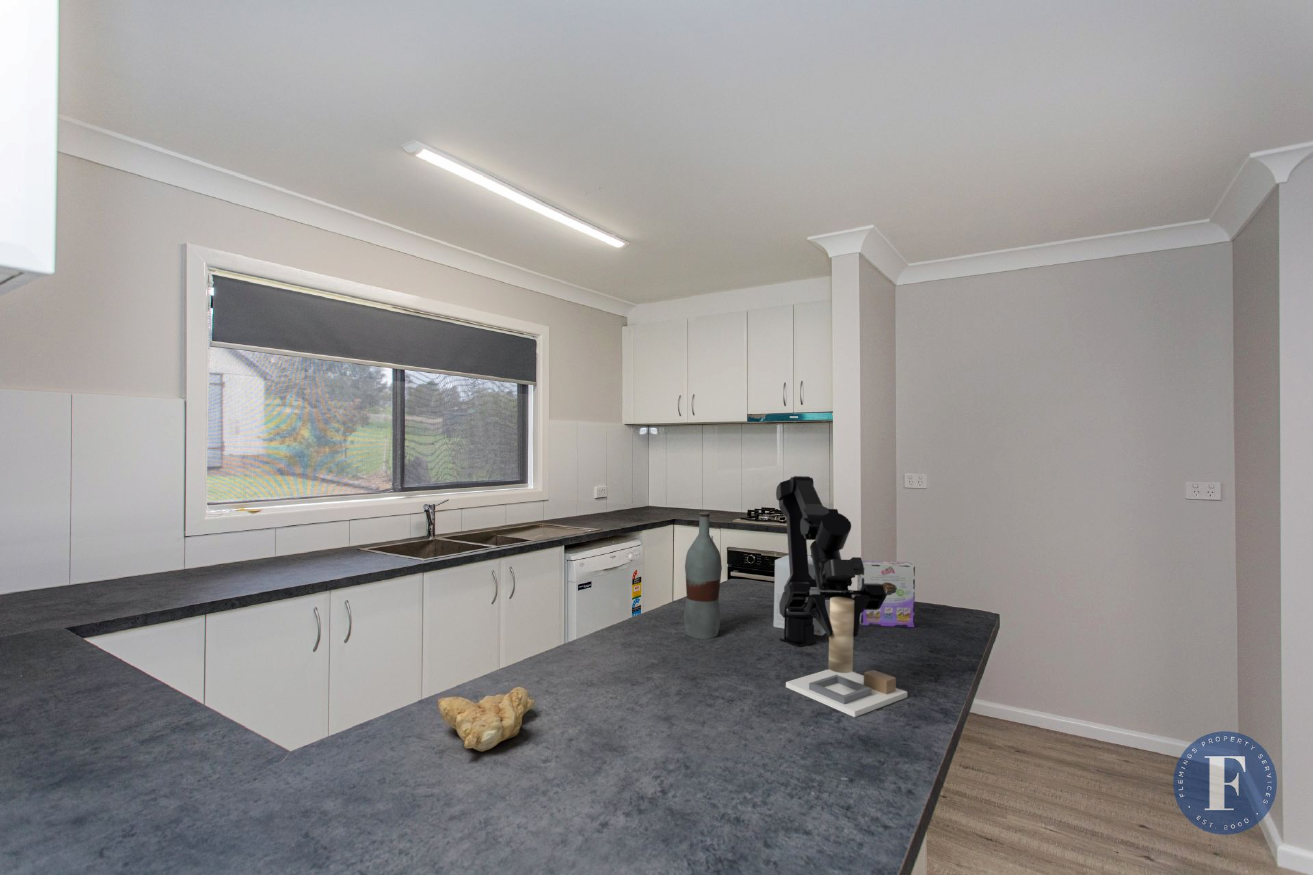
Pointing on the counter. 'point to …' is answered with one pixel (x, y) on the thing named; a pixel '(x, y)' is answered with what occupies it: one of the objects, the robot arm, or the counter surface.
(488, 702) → the ginger root
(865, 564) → the candy box
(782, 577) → the supplement box
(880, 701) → the plate
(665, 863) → the counter surface
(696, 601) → the bottle
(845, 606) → the wooden column
